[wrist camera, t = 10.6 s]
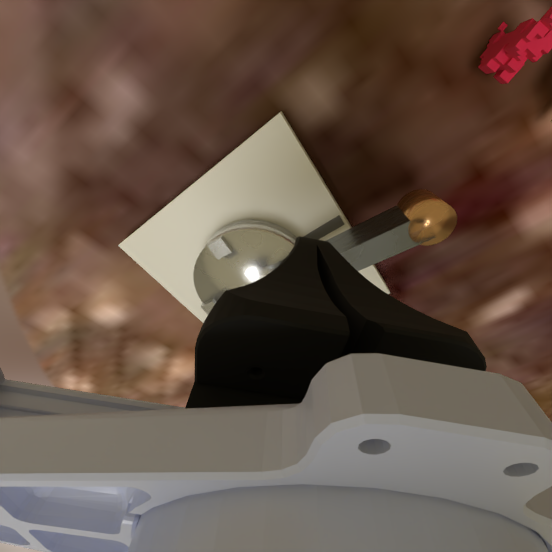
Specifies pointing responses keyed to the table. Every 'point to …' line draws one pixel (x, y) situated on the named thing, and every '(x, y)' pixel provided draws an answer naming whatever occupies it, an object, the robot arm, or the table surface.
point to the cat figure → (517, 47)
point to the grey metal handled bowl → (350, 244)
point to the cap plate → (240, 209)
